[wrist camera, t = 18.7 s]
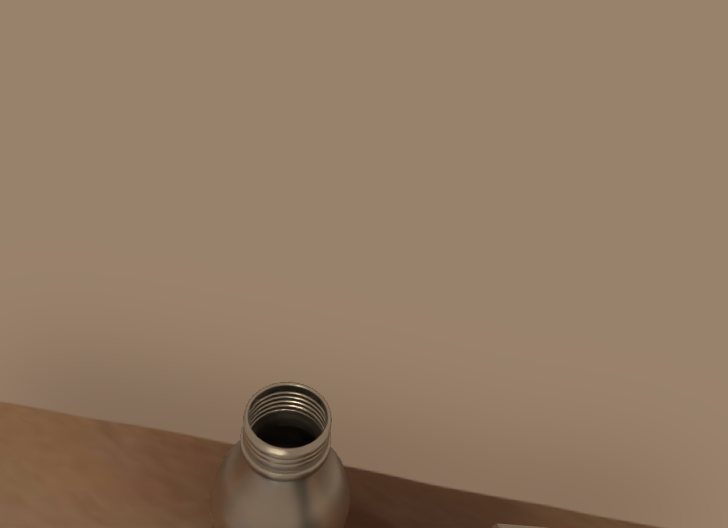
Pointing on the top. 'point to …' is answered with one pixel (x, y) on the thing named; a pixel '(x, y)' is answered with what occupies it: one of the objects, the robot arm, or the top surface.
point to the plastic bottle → (282, 466)
